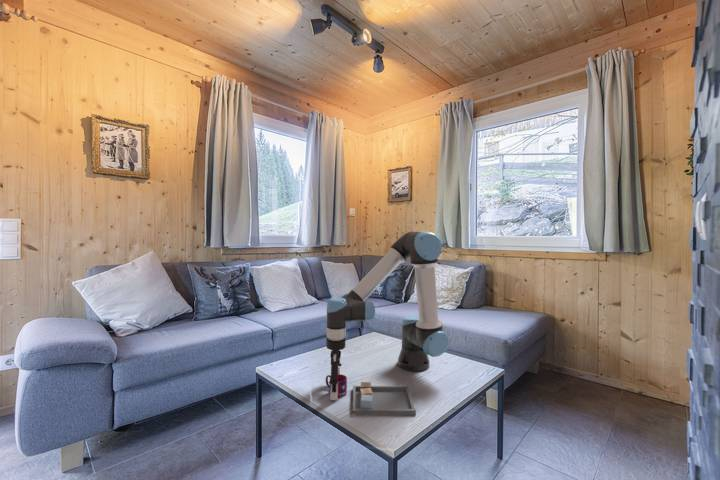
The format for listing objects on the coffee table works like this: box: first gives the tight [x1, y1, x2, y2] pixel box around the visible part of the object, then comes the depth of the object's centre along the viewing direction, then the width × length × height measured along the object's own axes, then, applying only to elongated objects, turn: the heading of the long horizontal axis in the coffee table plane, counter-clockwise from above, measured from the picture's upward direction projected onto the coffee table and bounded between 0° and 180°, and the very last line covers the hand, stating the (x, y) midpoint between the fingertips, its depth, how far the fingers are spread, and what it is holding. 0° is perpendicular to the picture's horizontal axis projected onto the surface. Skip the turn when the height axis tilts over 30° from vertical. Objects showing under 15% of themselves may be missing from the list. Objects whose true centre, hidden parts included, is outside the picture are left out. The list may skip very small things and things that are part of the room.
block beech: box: [360, 388, 373, 400], centre depth 123 cm, size 4×4×4 cm
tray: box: [352, 385, 417, 416], centre depth 123 cm, size 22×18×2 cm
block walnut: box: [360, 381, 372, 389], centre depth 128 cm, size 4×4×4 cm
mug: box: [325, 373, 348, 399], centre depth 130 cm, size 7×10×7 cm
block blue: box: [361, 395, 373, 409], centre depth 118 cm, size 4×4×4 cm
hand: (335, 390), depth 130 cm, fingers open, 13 cm apart
